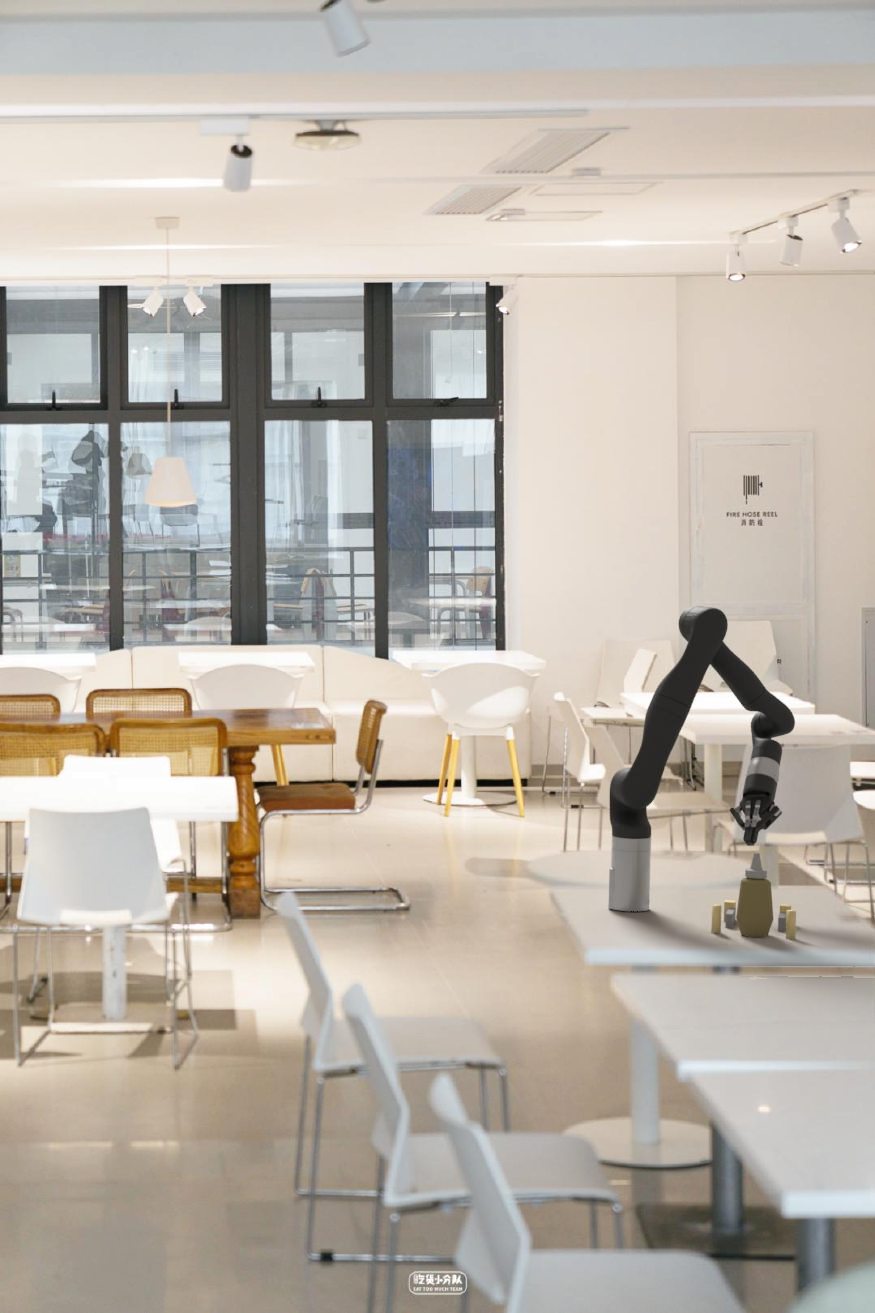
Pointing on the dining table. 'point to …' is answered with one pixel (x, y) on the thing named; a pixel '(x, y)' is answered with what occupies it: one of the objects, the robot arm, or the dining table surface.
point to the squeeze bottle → (755, 901)
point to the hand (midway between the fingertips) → (749, 844)
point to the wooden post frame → (784, 920)
